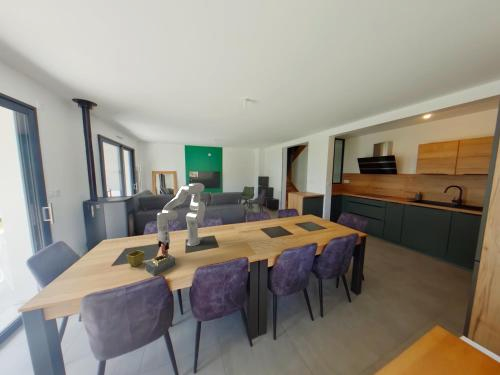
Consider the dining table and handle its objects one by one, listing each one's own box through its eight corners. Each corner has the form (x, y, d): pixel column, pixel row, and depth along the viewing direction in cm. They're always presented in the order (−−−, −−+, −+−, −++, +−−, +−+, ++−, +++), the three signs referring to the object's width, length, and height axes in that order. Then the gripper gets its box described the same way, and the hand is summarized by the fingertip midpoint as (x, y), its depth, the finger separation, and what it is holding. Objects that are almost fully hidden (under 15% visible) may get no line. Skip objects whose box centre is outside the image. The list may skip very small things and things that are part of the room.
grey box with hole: (166, 260, 136) (166, 251, 135) (175, 264, 129) (174, 255, 128) (145, 270, 122) (144, 260, 122) (154, 275, 116) (153, 265, 115)
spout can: (166, 256, 142) (165, 238, 140) (169, 258, 139) (168, 240, 138) (161, 258, 138) (159, 240, 136) (164, 260, 135) (162, 242, 134)
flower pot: (138, 260, 136) (137, 249, 135) (145, 262, 133) (144, 251, 132) (126, 266, 128) (125, 255, 127) (134, 268, 125) (133, 257, 124)
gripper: (173, 228, 134) (174, 248, 135) (161, 224, 144) (162, 244, 145) (164, 230, 128) (165, 252, 129) (152, 226, 137) (153, 247, 139)
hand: (163, 248), depth 137 cm, fingers open, 9 cm apart
